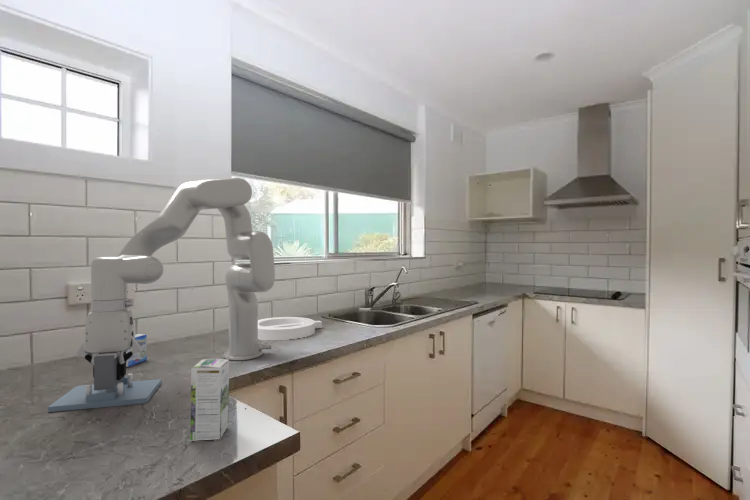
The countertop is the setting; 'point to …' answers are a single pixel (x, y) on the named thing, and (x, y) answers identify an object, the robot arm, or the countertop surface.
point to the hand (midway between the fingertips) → (109, 378)
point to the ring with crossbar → (286, 328)
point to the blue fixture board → (107, 395)
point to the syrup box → (209, 399)
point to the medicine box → (141, 354)
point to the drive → (106, 371)
